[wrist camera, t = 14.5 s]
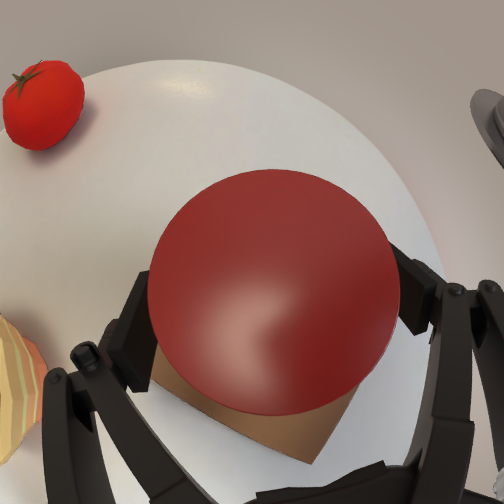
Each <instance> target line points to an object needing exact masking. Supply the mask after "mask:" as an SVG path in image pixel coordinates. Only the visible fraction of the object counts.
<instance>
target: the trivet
mask: <svg viewBox="0 0 504 504" xmlns="http://www.w3.org/2000/svg"><path fill="white" fill-rule="evenodd" d="M150 378H151V379H152V380H154V381H155V382H156V383H158V384H159V385H161V386H162V387H164V388H165V389H167V390H168V391H170V392H171V393H173V394H174V395H176V396H177V397H179V398H180V399H182V400H183V401H185V402H187V403H188V404H190V405H191V406H193V407H195V408H196V409H198V410H200V411H201V412H203V413H205V414H206V415H208V416H210V417H211V418H213V419H215V420H217V421H219V422H220V423H222V424H224V425H226V426H228V427H229V428H231V429H233V430H235V431H237V432H239V433H241V434H243V435H245V436H247V437H249V438H251V439H253V440H255V441H257V442H259V443H261V444H263V445H265V446H267V447H270V448H272V449H274V450H276V451H279V452H281V453H283V454H285V455H288V456H290V457H293V458H295V459H297V460H300V461H302V462H305V463H308V464H310V465H311V464H312V463H313V462H314V460H315V459H316V457H317V456H318V454H319V453H320V451H321V450H322V448H323V447H324V445H325V444H326V442H327V440H328V439H329V437H330V436H331V434H332V432H333V431H334V429H335V428H336V426H337V424H338V423H339V421H340V419H341V417H342V416H343V414H344V412H345V410H346V409H347V407H348V405H349V403H350V401H351V400H352V398H353V396H354V394H355V392H356V390H357V388H358V387H359V385H360V384H358V385H357V386H356V387H355V388H353V389H352V390H351V391H350V392H348V393H347V394H346V395H344V396H342V397H341V398H339V399H337V400H336V401H334V402H332V403H330V404H328V405H325V406H323V407H320V408H318V409H315V410H312V411H308V412H304V413H300V414H295V415H286V416H259V415H254V414H248V413H243V412H239V411H236V410H233V409H230V408H227V407H224V406H222V405H220V404H218V403H216V402H214V401H212V400H210V399H208V398H207V397H205V396H204V395H203V394H201V393H200V392H198V391H197V390H195V389H194V388H193V387H192V386H191V385H189V384H188V383H187V382H186V381H185V380H184V379H183V378H182V377H181V376H180V375H179V374H178V372H177V371H176V370H175V369H174V368H173V366H172V365H171V364H170V363H169V361H168V359H167V358H166V356H165V354H164V353H163V351H162V349H161V348H160V345H159V343H158V344H157V349H156V353H155V358H154V363H153V367H152V372H151V377H150Z"/></svg>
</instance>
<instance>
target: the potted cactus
mask: <svg viewBox="0 0 504 504" xmlns="http://www.w3.org/2000/svg"><path fill="white" fill-rule="evenodd" d="M47 373H48V371H47V366H46V363H45V361H44V359H43V358H42V356H41V354H40V352H39V351H38V349H37V347H36V345H35V344H34V343H32V342H31V341H29V340H28V339H26V338H24V337H23V336H21V335H20V334H19V332H18V331H17V329H16V328H15V327H14V326H13V325H11V324H10V323H9V322H8V321H6V320H5V319H4V318H3V317H2V316H1V314H0V466H1V465H3V464H4V463H6V462H7V461H8V460H9V459H10V457H11V456H12V455H13V453H14V452H15V451H16V450H17V448H18V447H19V446H20V444H21V443H22V439H23V438H24V437H25V435H26V434H27V433H28V431H29V430H30V429H31V428H32V426H33V425H34V424H35V422H39V421H40V420H41V419H42V397H43V381H44V377H45V376H46V374H47Z"/></svg>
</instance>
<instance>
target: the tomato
mask: <svg viewBox="0 0 504 504" xmlns="http://www.w3.org/2000/svg"><path fill="white" fill-rule="evenodd" d="M40 62H41V61H40ZM40 62H39V63H38V64H36V65H33V66H30V67H29V68H28V69H26V70H25V71H24V72H23V73H22V75H21V76H20V77H19V76H17V75H15V74H12V75H13V76H14V77H15V78H16V80H17V81H16V82H15V83H14V84H12V85H11V86H10V87H9V88H8V89H7V91H6V93H5V95H4V97H3V118H4V123H5V128H6V132H7V134H8V135H9V137H10V138H11V140H12V141H13V142H14V143H16V144H18V145H20V146H21V147H23V148H25V149H30V150H35V151H41V150H44V149H46V148H49V147H51V146H54V145H55V144H57V143H58V142H59V141H60V140H62V139H63V138H64V137H65V136H66V135H67V133H68V132H69V131H70V129H71V128H72V127H73V126H74V124H75V123H76V122H77V121H78V119H79V116H80V113H81V111H82V108H83V103H84V95H85V91H84V84H83V82H82V80H81V78H80V76H79V75H78V74H77V73H75V72H74V71H73V70H72V69H71V68H70V66H69V65H68V64H67V63H64V62H62V61H43V62H41V63H40Z"/></svg>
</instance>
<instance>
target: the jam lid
mask: <svg viewBox="0 0 504 504" xmlns="http://www.w3.org/2000/svg"><path fill="white" fill-rule="evenodd" d="M147 300H148V308H149V316H150V320H151V323H152V327H153V331H154V333H155V336H156V338H157V341H158V343H159V345H160V348H161V349H162V351H163V353H164V354H165V356H166V358H167V359H168V361H169V363H170V364H171V365H172V366H173V368H174V369H175V370H176V371H177V372H178V374H179V375H180V376H181V377H182V378H183V379H184V380H185V381H186V382H187V383H188V384H189V385H191V386H192V387H193V388H194V389H195V390H197V391H198V392H200V393H201V394H203V395H204V396H205V397H207V398H208V399H210V400H212V401H214V402H216V403H218V404H220V405H222V406H224V407H227V408H230V409H233V410H236V411H239V412H243V413H248V414H254V415H259V416H286V415H295V414H300V413H304V412H308V411H312V410H315V409H318V408H320V407H323V406H325V405H328V404H330V403H332V402H334V401H336V400H337V399H339V398H341V397H342V396H344V395H346V394H347V393H348V392H350V391H351V390H352V389H353V388H355V387H356V386H357V385H358V384H360V383H361V382H362V381H363V380H364V379H365V378H366V377H367V375H368V374H369V373H370V372H371V371H372V370H373V369H374V367H375V366H376V365H377V363H378V362H379V360H380V359H381V357H382V356H383V354H384V352H385V350H386V348H387V346H388V344H389V342H390V340H391V338H392V335H393V332H394V329H395V326H396V322H397V317H398V312H399V306H400V280H399V273H398V268H397V263H396V259H395V256H394V253H393V251H392V248H391V245H390V243H389V241H388V239H387V237H386V235H385V233H384V231H383V230H382V228H381V227H380V225H379V224H378V222H377V221H376V219H375V218H374V217H373V216H372V215H371V213H370V212H369V211H368V210H367V209H366V208H365V207H364V206H363V205H362V204H361V203H360V202H359V201H358V200H357V199H355V198H354V197H353V196H352V195H350V194H349V193H347V192H346V191H345V190H343V189H342V188H340V187H338V186H336V185H334V184H332V183H331V182H329V181H326V180H324V179H321V178H319V177H316V176H313V175H310V174H306V173H302V172H297V171H291V170H278V169H268V170H256V171H250V172H245V173H241V174H238V175H234V176H231V177H228V178H226V179H223V180H221V181H219V182H217V183H215V184H213V185H211V186H209V187H208V188H206V189H204V190H203V191H201V192H200V193H198V194H197V195H196V196H195V197H193V198H192V199H191V200H189V201H188V202H187V203H186V204H185V205H184V206H183V207H182V208H181V209H180V210H179V211H178V212H177V214H176V215H175V216H174V218H173V219H172V220H171V221H170V223H169V224H168V226H167V227H166V229H165V231H164V232H163V234H162V236H161V238H160V240H159V242H158V244H157V247H156V249H155V251H154V255H153V258H152V262H151V265H150V270H149V277H148V294H147Z"/></svg>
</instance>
